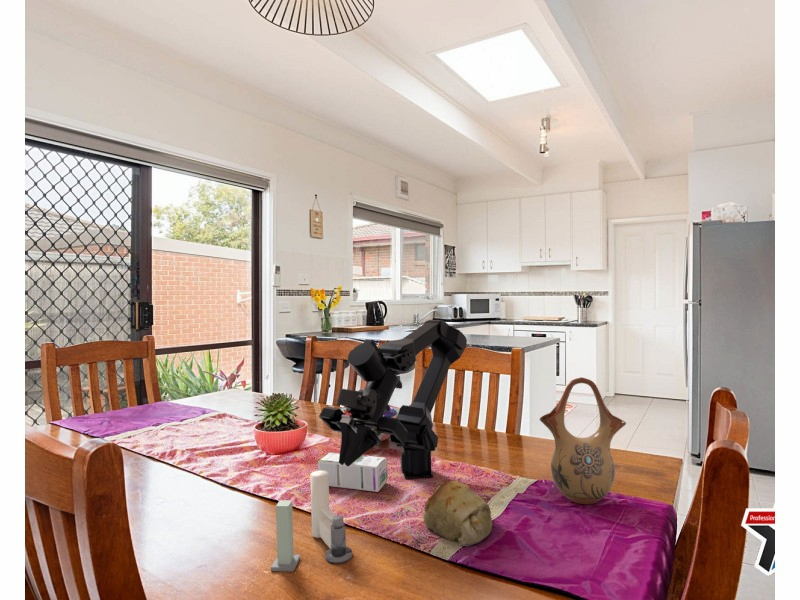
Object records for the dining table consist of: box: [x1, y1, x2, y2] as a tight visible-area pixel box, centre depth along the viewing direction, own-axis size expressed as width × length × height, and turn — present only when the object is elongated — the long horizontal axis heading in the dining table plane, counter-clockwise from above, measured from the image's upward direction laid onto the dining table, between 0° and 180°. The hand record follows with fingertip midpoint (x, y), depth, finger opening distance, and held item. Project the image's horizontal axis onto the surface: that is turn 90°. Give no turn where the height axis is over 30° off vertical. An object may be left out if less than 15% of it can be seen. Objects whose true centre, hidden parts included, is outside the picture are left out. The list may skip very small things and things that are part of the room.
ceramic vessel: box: [539, 377, 627, 505], centre depth 97 cm, size 16×9×25 cm, turn 77°
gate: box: [309, 470, 345, 549], centre depth 83 cm, size 10×3×11 cm, turn 30°
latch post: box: [270, 499, 301, 573], centre depth 77 cm, size 4×4×10 cm
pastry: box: [422, 479, 493, 547], centre depth 89 cm, size 14×12×8 cm
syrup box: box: [317, 451, 388, 493], centre depth 108 cm, size 6×6×14 cm
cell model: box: [339, 404, 401, 442], centre depth 138 cm, size 17×20×11 cm
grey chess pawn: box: [324, 523, 353, 565], centre depth 80 cm, size 4×4×5 cm
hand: (343, 464), depth 92 cm, fingers closed
